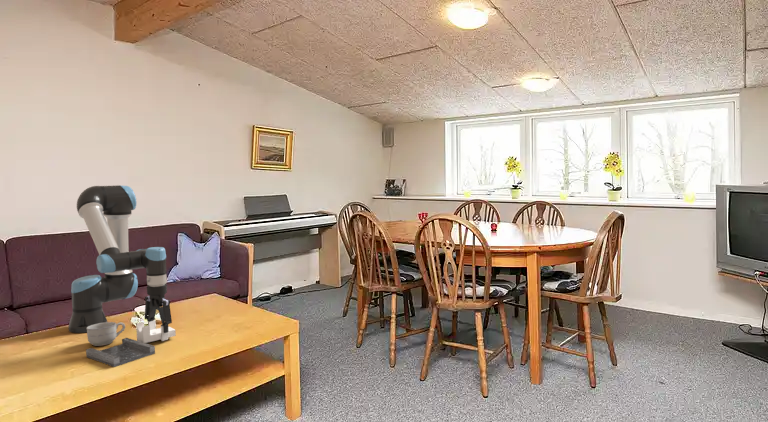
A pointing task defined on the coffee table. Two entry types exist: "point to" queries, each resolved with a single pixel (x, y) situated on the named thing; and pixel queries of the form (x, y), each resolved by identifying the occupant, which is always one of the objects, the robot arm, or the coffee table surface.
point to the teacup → (103, 333)
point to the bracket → (151, 333)
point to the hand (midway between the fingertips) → (158, 338)
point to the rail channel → (121, 352)
